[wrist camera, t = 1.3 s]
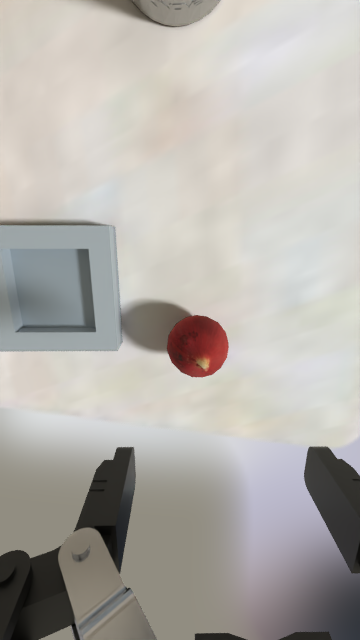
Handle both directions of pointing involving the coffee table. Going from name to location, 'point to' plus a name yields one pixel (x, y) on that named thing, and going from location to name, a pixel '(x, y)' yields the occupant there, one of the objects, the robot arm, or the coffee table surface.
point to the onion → (197, 346)
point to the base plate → (59, 288)
